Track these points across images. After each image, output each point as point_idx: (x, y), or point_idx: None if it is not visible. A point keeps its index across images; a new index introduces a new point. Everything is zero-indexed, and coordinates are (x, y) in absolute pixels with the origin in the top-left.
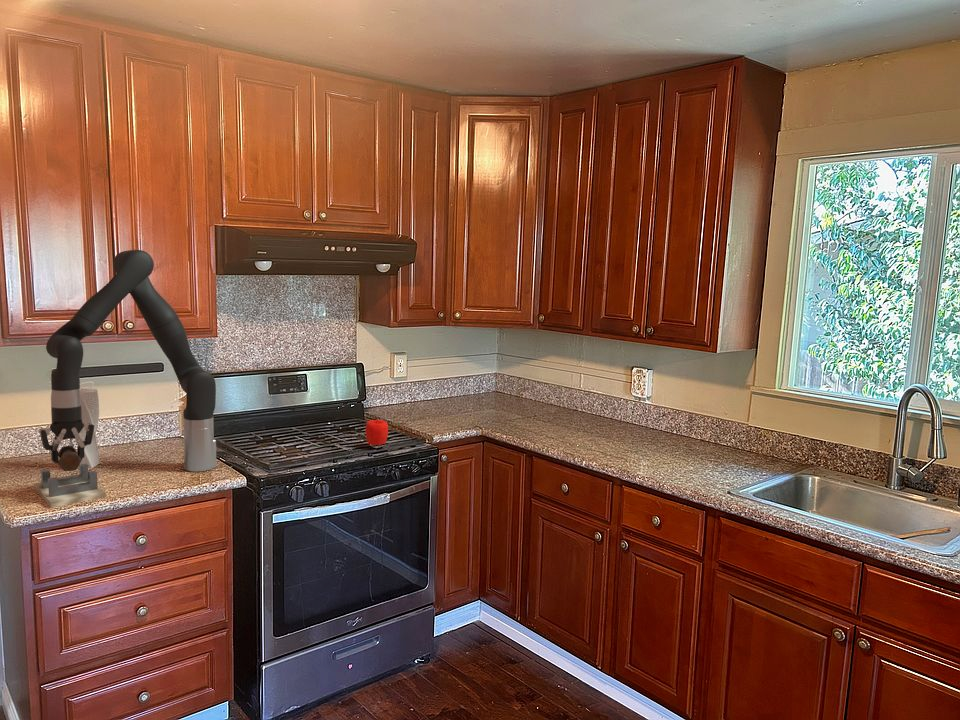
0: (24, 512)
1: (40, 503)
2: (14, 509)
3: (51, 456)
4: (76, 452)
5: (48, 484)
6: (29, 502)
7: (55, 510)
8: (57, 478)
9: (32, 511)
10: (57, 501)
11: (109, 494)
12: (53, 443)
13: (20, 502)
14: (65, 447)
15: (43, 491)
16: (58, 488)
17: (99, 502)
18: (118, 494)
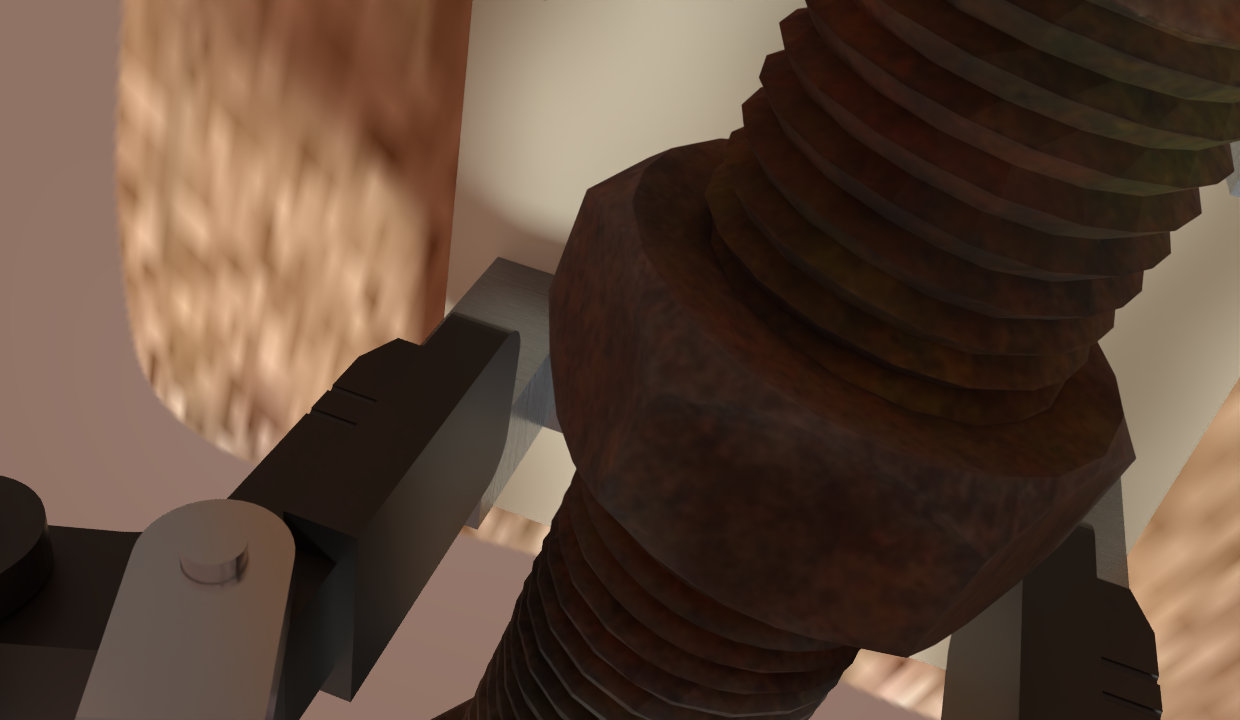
0: (232, 360)
1: (420, 238)
2: (165, 201)
3: (314, 423)
4: (1018, 574)
5: (424, 344)
6: (332, 100)
7: (467, 535)
8: (478, 510)
9: (296, 394)
10: (498, 505)
11: (1155, 601)
12: (132, 715)
13: (248, 10)
14: (677, 566)
15: (500, 37)
16: (552, 407)
17: (881, 691)
18: (1221, 679)
